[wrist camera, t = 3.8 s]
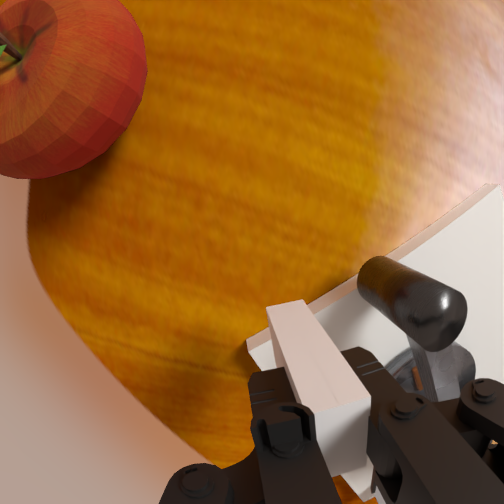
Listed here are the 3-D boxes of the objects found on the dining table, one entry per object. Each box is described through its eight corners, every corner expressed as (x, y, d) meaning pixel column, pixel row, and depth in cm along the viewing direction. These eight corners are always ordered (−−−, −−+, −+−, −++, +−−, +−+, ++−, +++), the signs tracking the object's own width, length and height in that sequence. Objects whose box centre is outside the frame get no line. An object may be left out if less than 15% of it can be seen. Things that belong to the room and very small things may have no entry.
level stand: (512, 379, 23) (561, 416, 14) (359, 491, 23) (387, 553, 15) (485, 183, 18) (577, 192, 10) (246, 339, 18) (265, 441, 10)
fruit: (166, 17, 14) (131, -100, 4) (161, 171, 16) (83, 152, 6) (28, 48, 13) (-63, -10, 3) (17, 189, 15) (-106, 201, 5)
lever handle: (471, 411, 20) (511, 451, 14) (388, 470, 20) (417, 521, 14) (428, 218, 16) (510, 236, 10) (295, 303, 16) (336, 368, 10)
